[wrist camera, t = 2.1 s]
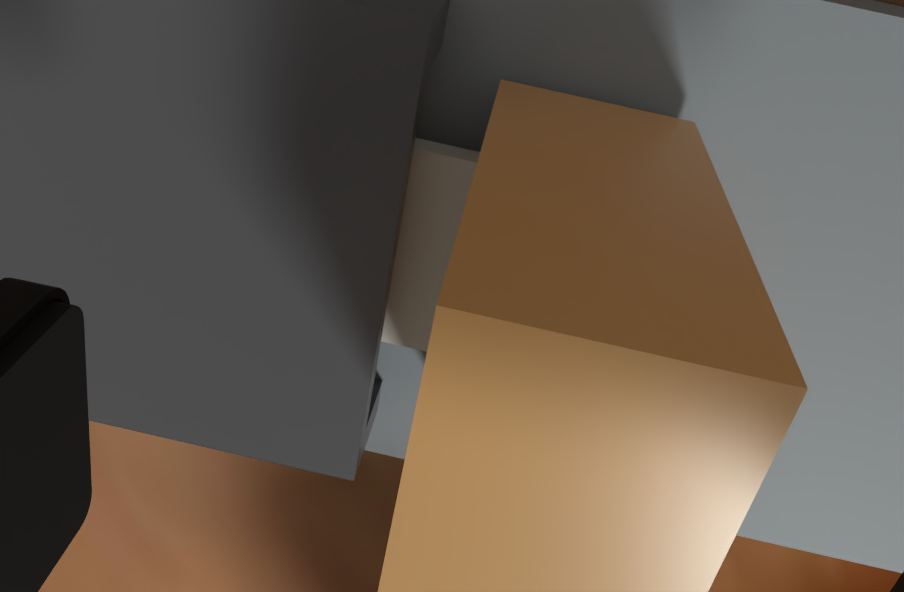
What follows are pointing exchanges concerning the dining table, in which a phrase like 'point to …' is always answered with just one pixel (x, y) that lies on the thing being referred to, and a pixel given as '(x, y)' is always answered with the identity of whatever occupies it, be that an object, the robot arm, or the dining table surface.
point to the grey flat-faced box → (217, 205)
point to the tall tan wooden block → (579, 357)
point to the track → (742, 209)
